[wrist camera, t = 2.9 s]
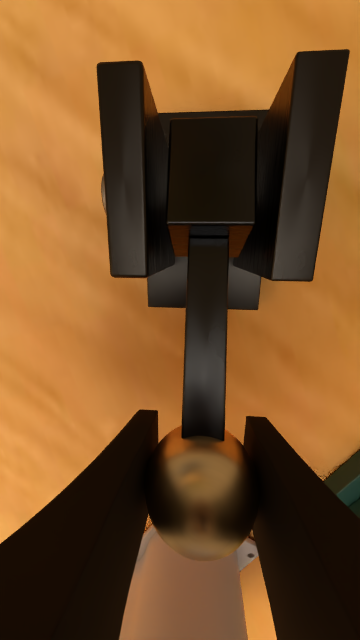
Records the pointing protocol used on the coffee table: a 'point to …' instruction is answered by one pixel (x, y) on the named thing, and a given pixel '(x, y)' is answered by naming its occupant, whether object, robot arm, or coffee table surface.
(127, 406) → the coffee table surface
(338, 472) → the button housing
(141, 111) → the bracket
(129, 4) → the coffee table surface
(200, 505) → the lever
